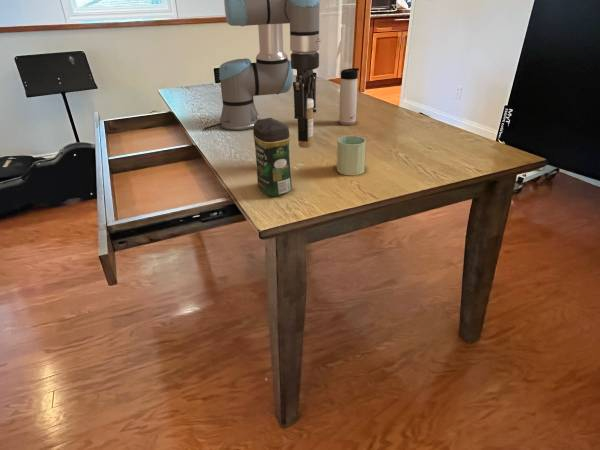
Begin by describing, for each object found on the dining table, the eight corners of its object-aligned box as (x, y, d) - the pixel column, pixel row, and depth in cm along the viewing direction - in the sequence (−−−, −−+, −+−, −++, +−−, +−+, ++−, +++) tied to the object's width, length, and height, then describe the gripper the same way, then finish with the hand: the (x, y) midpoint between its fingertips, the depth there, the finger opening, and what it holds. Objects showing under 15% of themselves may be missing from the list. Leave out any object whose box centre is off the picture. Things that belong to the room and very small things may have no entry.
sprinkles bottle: (298, 143, 123) (297, 97, 116) (313, 142, 123) (313, 97, 116) (298, 148, 119) (297, 102, 112) (313, 148, 119) (313, 101, 112)
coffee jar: (253, 186, 112) (247, 118, 103) (279, 179, 115) (276, 113, 106) (268, 200, 105) (263, 129, 95) (296, 193, 108) (294, 123, 98)
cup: (340, 176, 116) (341, 145, 112) (334, 165, 123) (334, 136, 119) (367, 174, 117) (369, 143, 113) (360, 163, 124) (361, 134, 119)
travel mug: (355, 125, 155) (358, 70, 145) (338, 125, 157) (339, 69, 146) (357, 120, 161) (359, 66, 150) (340, 120, 162) (341, 66, 152)
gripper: (308, 58, 100) (308, 149, 112) (327, 47, 114) (326, 129, 126) (279, 57, 102) (283, 147, 114) (301, 46, 116) (303, 127, 128)
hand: (305, 137), depth 120 cm, fingers closed on sprinkles bottle, 4 cm apart
